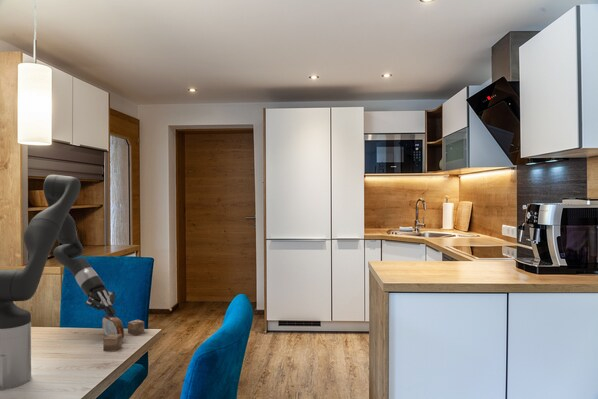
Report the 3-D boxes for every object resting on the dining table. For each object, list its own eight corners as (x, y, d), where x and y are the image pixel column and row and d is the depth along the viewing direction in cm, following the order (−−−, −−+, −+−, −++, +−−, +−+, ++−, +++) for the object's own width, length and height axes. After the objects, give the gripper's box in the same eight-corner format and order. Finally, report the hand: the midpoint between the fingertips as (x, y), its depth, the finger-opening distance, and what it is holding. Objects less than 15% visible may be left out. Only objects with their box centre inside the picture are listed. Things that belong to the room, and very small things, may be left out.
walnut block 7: (133, 335, 158) (133, 324, 158) (127, 333, 161) (127, 321, 161) (144, 332, 162) (144, 321, 162) (138, 330, 165) (138, 319, 165)
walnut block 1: (115, 351, 143) (115, 338, 142) (103, 351, 143) (103, 338, 143) (121, 346, 147) (121, 333, 147) (110, 346, 147) (110, 333, 147)
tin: (124, 342, 152) (124, 320, 152) (116, 344, 149) (116, 321, 149) (108, 332, 162) (108, 312, 162) (100, 334, 160) (100, 313, 160)
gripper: (79, 278, 153) (103, 313, 149) (107, 272, 165) (131, 304, 161) (70, 291, 155) (93, 326, 151) (98, 284, 168) (121, 316, 163)
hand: (112, 315), depth 156 cm, fingers closed
